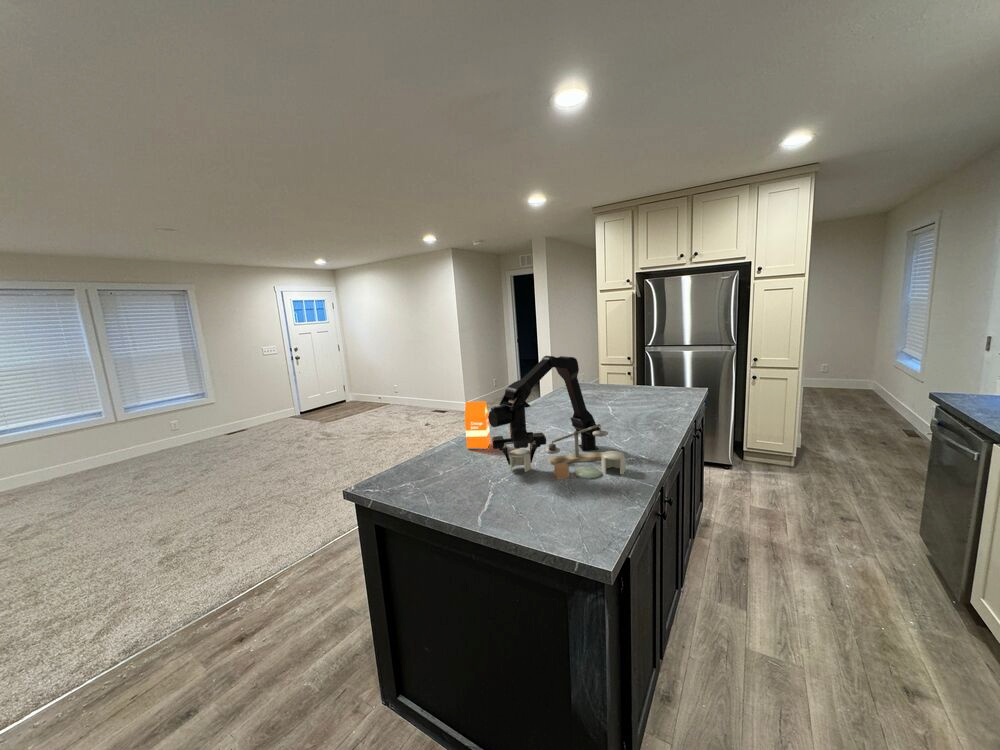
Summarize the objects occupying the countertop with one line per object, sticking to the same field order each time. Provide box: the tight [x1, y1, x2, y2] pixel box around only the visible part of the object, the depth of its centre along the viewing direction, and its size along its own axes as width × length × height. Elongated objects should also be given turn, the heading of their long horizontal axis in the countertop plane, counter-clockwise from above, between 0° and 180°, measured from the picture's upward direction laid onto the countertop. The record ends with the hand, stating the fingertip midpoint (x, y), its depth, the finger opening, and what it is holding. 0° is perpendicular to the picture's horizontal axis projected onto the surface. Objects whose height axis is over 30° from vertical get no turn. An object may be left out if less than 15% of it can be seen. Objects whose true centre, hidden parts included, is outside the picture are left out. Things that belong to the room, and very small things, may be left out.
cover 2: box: [601, 450, 626, 475], centre depth 137 cm, size 7×7×6 cm
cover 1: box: [508, 448, 532, 473], centre depth 142 cm, size 7×7×6 cm
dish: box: [574, 466, 602, 480], centre depth 137 cm, size 9×9×1 cm
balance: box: [544, 423, 609, 465], centre depth 149 cm, size 24×6×13 cm, turn 94°
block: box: [553, 463, 570, 480], centre depth 136 cm, size 4×4×4 cm
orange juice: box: [464, 401, 491, 449], centre depth 170 cm, size 8×9×20 cm
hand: (520, 463), depth 142 cm, fingers open, 7 cm apart
